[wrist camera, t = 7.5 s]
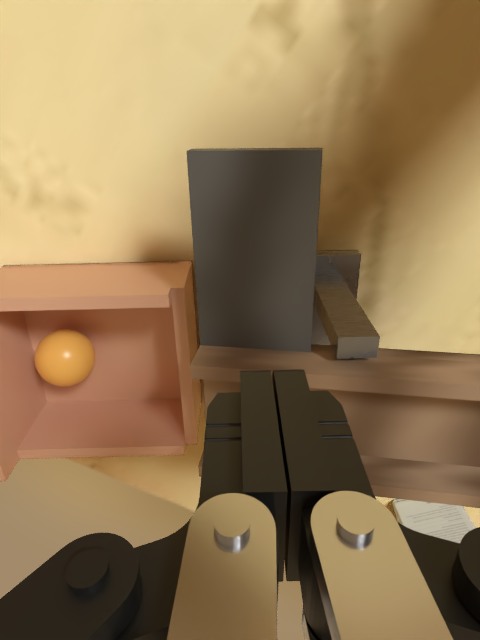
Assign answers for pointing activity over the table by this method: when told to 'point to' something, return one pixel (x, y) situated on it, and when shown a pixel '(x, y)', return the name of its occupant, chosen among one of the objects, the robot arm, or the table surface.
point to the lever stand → (341, 307)
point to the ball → (65, 357)
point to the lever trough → (296, 327)
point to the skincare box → (434, 519)
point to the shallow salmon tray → (99, 361)
